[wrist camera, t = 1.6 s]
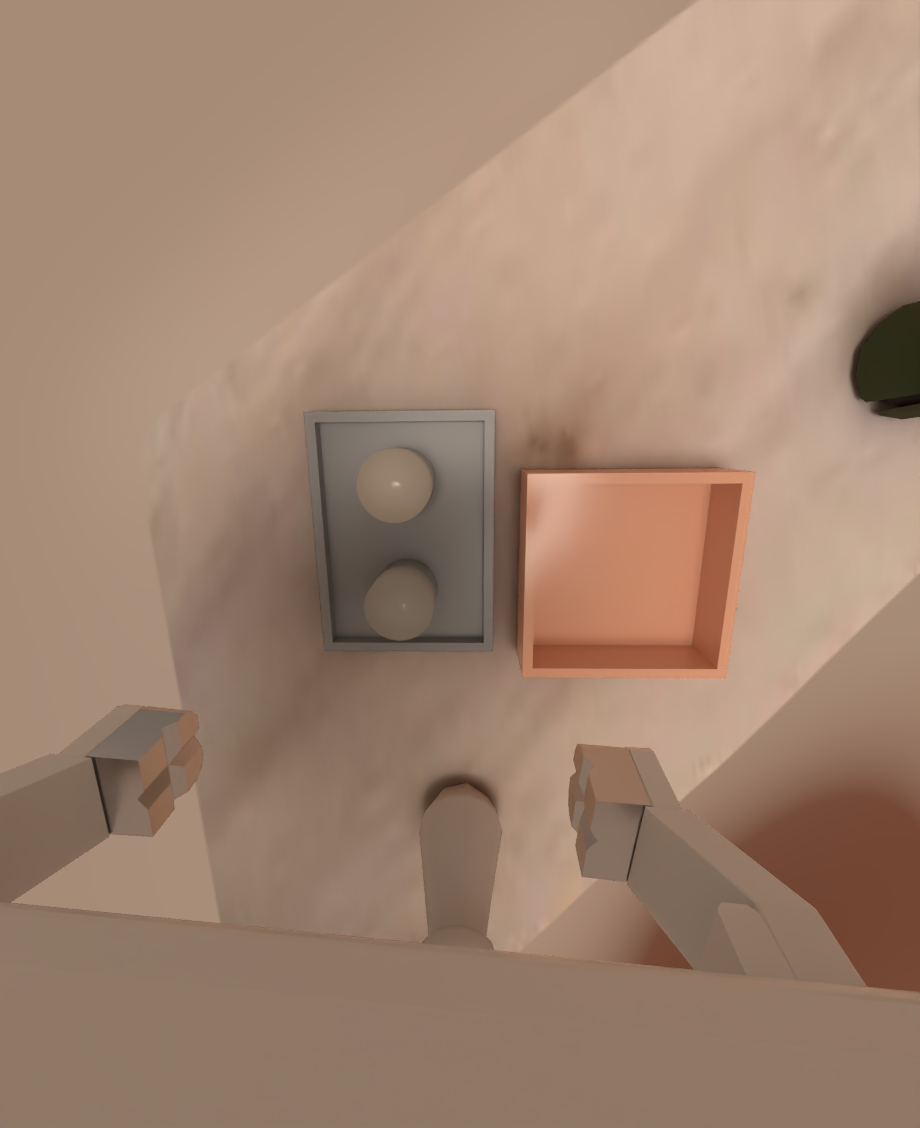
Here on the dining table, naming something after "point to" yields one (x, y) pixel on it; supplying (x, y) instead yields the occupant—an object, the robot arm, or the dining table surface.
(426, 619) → the pebble
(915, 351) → the character mug
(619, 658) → the open box
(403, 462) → the pebble
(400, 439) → the tray
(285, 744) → the dining table surface
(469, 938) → the salt shaker
